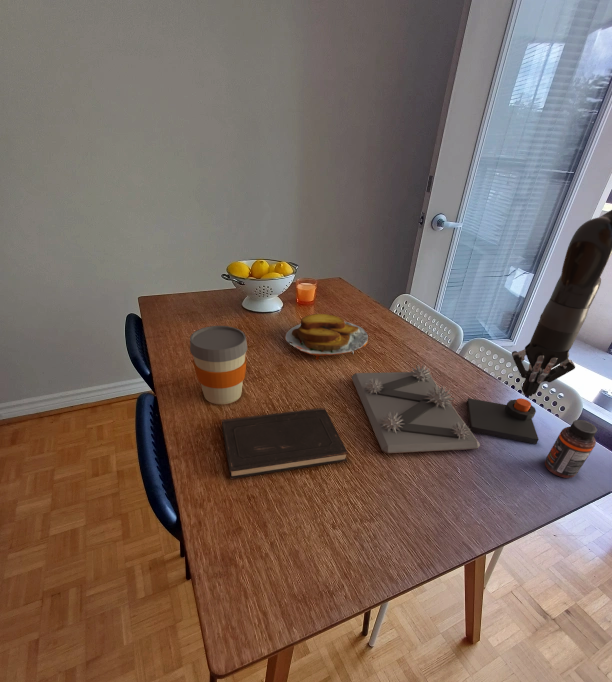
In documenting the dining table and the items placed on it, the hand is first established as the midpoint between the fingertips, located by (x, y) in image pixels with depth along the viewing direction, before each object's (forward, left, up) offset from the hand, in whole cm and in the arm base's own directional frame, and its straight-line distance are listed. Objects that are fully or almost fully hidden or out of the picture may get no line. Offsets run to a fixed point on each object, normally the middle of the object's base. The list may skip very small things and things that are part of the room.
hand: (527, 393), depth 91 cm
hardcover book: (+50, +26, -7) cm, 57 cm away
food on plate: (+51, -23, -7) cm, 57 cm away
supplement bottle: (-6, +16, -7) cm, 19 cm away
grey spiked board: (+25, +6, -7) cm, 27 cm away
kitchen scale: (+4, +3, -7) cm, 9 cm away
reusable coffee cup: (+69, +13, -7) cm, 71 cm away
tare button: (0, 0, -4) cm, 4 cm away
